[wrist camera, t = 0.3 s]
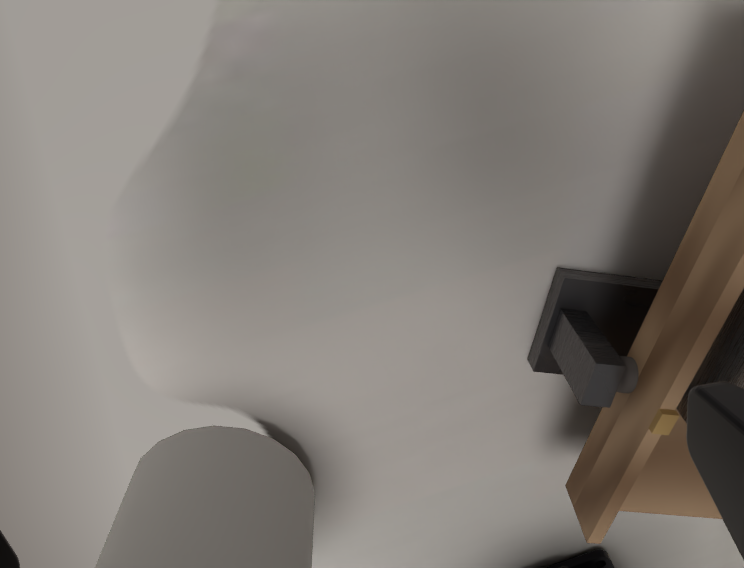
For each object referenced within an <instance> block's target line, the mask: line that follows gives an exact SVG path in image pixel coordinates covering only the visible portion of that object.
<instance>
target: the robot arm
mask: <svg viewBox="0 0 744 568" xmlns="http://www.w3.org/2000/svg"><path fill="white" fill-rule="evenodd" d="M686 440H687V446H688V450H689V453H690V456H691V458H692V460H693V462H694V464H695V466H696V468H697V470H698V472H699V474H700V476H701V478H702V480H703V482H704V484H705V486H706V488H707V489H708V491H709V493H710V495H711V497H712V499H713V501H714V503H715V505H716V507H717V509H718V511H719V513H720V515H721V517H722V519H723V521H724V523H725V525H726V526H727V528H728V530H729V532H730V534H731V536H732V538H733V540H734V542H735V544H736V546H737V548H738V550H739V552H740V554H741V556H742V557H743V559H744V388H742V387H740V386H737V385H735V384H733V383H730V382H726V381H719V382H714V383H708V384H703V385H697V386H694V387H693V388H692V389H691V390H690V391H689V394H688V404H687V432H686ZM0 568H20V564H19V560H18V557H17V555H16V554H15V552H14V551H13V549H12V548H11V546H10V544H9V543H8V541H7V540H6V539H5V537H4V535H3V534H2V532H1V531H0ZM547 568H614V566H613V564H612V562H611V560H610V558H609V556H608V553H607V552H606V551H604V550H594V551H591V552H589V553H586V554H583V555H580V556H577V557H575V558H572V559H569V560H566V561H563V562H561V563H558V564H555V565H552V566H549V567H547Z"/></svg>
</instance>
